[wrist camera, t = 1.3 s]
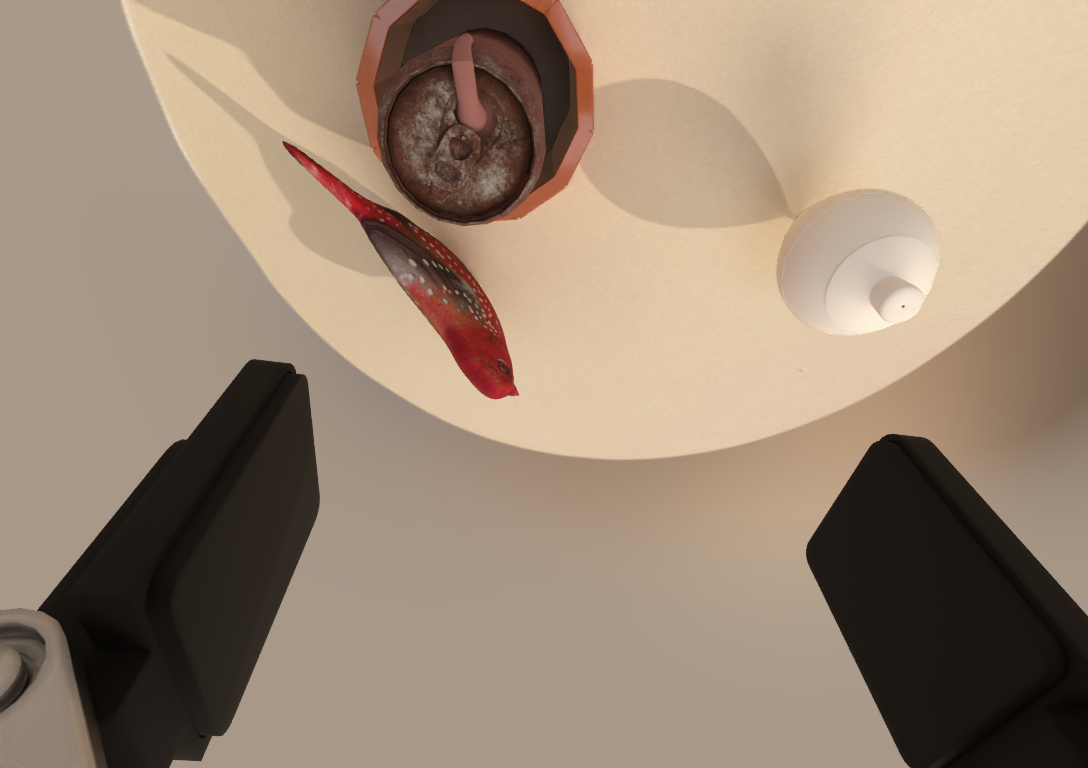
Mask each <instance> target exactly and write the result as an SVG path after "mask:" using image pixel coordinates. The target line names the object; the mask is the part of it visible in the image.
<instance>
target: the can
mask: <svg viewBox="0 0 1088 768" xmlns="http://www.w3.org/2000/svg"><path fill="white" fill-rule="evenodd" d="M377 140H378V144H379V149H380V153H381V157H382V161H383V165H384V167H385V169H386V170H387V172H388V174H389V176H390V177H391V179H392V181H393V183H394V185H395V186H396V188H397V190H398V191H399V192H400V193H401V194H402V195H403V196H404V197H405V198H406V199H407V200H408V201H409V202H410V203H411V204H412V205H413V206H414V207H415V208H417V209H419V210H420V211H422V212H424V213H426V214H428V215H429V216H431V217H433V218H435V219H437V220H438V221H443V222H447V223H452V224H456V225H461V226H469V225H480V224H488V223H490V222H493V221H495V220H497V219H500V218H502V217H504V216H507V215H509V214H510V213H511V212H512V211H514V210H515V209H516V208H517V207H518V206H519V205H520V204H521V203H522V202H524V201H525V200H526V199H527V198H528V196H529V195H530V193H531V191H532V189H533V188H534V186H535V184H536V182H537V181H538V179H539V177H540V175H541V170H542V166H543V161H544V157H545V152H546V142H545V129H544V116H543V103H542V91H541V79H540V76H539V73H538V71H537V68H536V65H535V63H534V60H533V59H532V57H531V56H530V55H529V54H528V52H527V51H526V50H525V48H524V47H523V46H522V44H520V43H519V42H518V41H516V40H515V39H513V38H512V37H510V36H509V35H508V34H506V33H504V32H500V31H496V30H493V29H489V28H481V29H471V30H467V31H465V32H463V33H461V34H459V35H457V36H455V37H453V38H451V39H450V40H448V41H446V42H444V43H442V44H440V45H438V46H436V47H434V48H432V49H430V50H428V51H426V52H424V53H422V54H420V55H418V56H416V57H414V58H412V59H411V60H409V61H407V62H406V63H405V64H404V66H403V67H402V68H401V69H400V70H399V71H398V72H397V74H396V75H395V76H394V77H393V78H392V79H391V80H390V81H389V83H388V86H387V88H386V91H385V93H384V96H383V98H382V101H381V103H380V106H379V108H378V125H377Z"/></svg>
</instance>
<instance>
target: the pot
mask: <svg viewBox="0 0 1088 768" xmlns="http://www.w3.org/2000/svg"><path fill="white" fill-rule="evenodd" d="M438 1H439V0H387V1H386V2H385V3H384V4H383V5H382V6H381V7H380V8H378V9H377V10H376V11H375V14H376V15H373V17H372V20H371V24H370V28H369V32H368V36H367V40H366V43H365V47H364V51H363V55H362V59H361V62H360V66H359V70H358V74H357V78H356V81H357V82H358V83H356V86H357V90H358V95H359V99H360V103H361V107H362V112H363V116H364V120H365V125H366V129H367V133H368V137H369V142H370V146H371V148H374V149H373V152H374V153H375V154H376V156H377V157H378V158H379V159H380V161H381V162H382V163H383V161H382V157H381V153H380V149H379V144H378V140H377V125H378V108H379V106H380V103H381V101H382V98H383V96H384V93H385V91H386V88H387V86H388V83H389V81H390V80H391V79H392V78H393V77H394V76H395V75H396V74H397V72H398V71H399V70H400V67H401V64H402V61H403V57H404V54H405V51H406V47H407V44H408V41H409V37H410V34H411V31H412V27H413V24H414V22H415V21H416V20H418V19H419V18H420V17H421V16H422V15H423V14H424V13H425V12H427V11H428V10H429V9H430V8H431V7H432V6H433V5H435V4H436V3H437V2H438ZM520 1H522V2H523V3H525V4H527V5H529V6H530V7H532V8H534V9H535V10H537V11H539V12H541V13H542V14H544V15H545V16H546V18H547V20H548V22H549V24H550V25H551V27H552V29H553V31H554V32H555V34H556V36H557V38H558V40H559V41H560V43H561V45H562V47H563V48H564V50H565V52H566V54H567V56H568V57H569V81H570V107H571V108H570V110H569V112H568V114H567V117H566V119H565V121H564V123H563V125H562V127H561V129H560V132H559V134H558V136H557V138H556V140H555V142H554V144H553V147H552V149H551V150H550V151H549V152H547V153H546V154H545V157H544V161H543V166H542V170H541V175H540V177H539V179H538V181H537V182H536V184H535V186H534V188H533V189H532V191H531V193H530V195H529V196H528V198H527V199H526V200H525V201H524V202H522V203H521V204H520V205H519V206H518V207H517V208H516V209H515V210H514V211H512V212H511V213H510V214H509V215H507V216H504V217H502V218H500V219H497V220H495V221H502V220H515V219H518V218H519V217H520V218H522V217H524V216H525V215H527V214H528V213H530V212H531V211H533V210H534V209H536V208H537V207H539V206H540V205H541V204H543V203H544V202H546V201H547V200H549V199H550V198H552V197H553V196H555V195H556V194H558V193H559V192H560V191H562V190H563V189H565V186H567V185H568V183H569V181H570V179H571V177H572V175H573V173H574V171H575V169H576V167H577V165H578V163H579V161H580V159H581V157H582V155H583V153H584V151H585V149H586V147H587V145H588V143H589V141H590V139H591V137H592V135H593V130H594V95H593V64H592V63H591V62H592V60H591V58H590V56H589V54H588V52H587V50H586V49H585V47H584V45H583V43H582V41H581V39H580V38H579V36H578V34H577V32H576V30H575V28H574V26H573V25H572V23H571V21H570V19H569V17H568V15H567V14H566V12H565V10H564V8H563V6H562V4H561V2H560V1H559V0H520Z"/></svg>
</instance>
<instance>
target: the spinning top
mask: <svg viewBox="0 0 1088 768" xmlns="http://www.w3.org/2000/svg"><path fill="white" fill-rule="evenodd" d="M939 261H940V241H939V237H938V233H937V230H936V227H935V225H934V223H933V221H932V220H931V218H930V217H929V215H928V214H927V213H926V212H925V211H924V210H923V209H922V208H921V207H920V206H919V205H918V204H917V203H915V202H914V201H912V200H911V199H909V198H907V197H905V196H903V195H900V194H897V193H894V192H890V191H886V190H880V189H858V190H852V191H847V192H843V193H840V194H837V195H834V196H831V197H829V198H826V199H824V200H822V201H819V202H817V203H816V204H814V205H812V206H811V207H809V208H808V209H806V210H805V211H804V212H803V213H801V214H800V215H799V216H798V217H797V218H796V220H795V221H794V222H793V223H792V225H791V226H790V227H789V229H788V231H787V232H786V234H785V236H784V239H783V242H782V244H781V247H780V251H779V255H778V260H777V269H776V276H777V284H778V288H779V292H780V294H781V297H782V299H783V301H784V302H785V304H786V306H787V308H788V309H789V310H790V312H791V313H792V314H793V315H794V316H795V317H796V318H797V319H799V320H800V321H801V322H803V323H804V324H806V325H807V326H809V327H811V328H813V329H815V330H818V331H821V332H824V333H828V334H834V335H859V334H865V333H869V332H873V331H877V330H881V329H884V328H887V327H889V326H891V325H894V324H896V323H900V322H903V321H906V320H908V319H910V318H911V317H913V316H914V315H915V314H916V313H917V312H918V311H919V309H920V308H921V306H922V304H923V300H924V299H925V297H926V296H927V294H928V293H929V291H930V289H931V287H932V284H933V282H934V279H935V276H936V273H937V270H938V266H939Z"/></svg>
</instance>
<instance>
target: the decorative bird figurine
mask: <svg viewBox="0 0 1088 768" xmlns="http://www.w3.org/2000/svg"><path fill="white" fill-rule="evenodd" d="M282 142H283V145H284V147H285V148H286V149H287V150H288V152H289V153H290V154H291V155H292V156H293V157H294V158H295V159H296V160H297V161H298V162H299V163H300V164H301V165H302V166H303V167H305V169H306V170H307V171H308V172H310V173H311V174H312V175H313V176H314V177H315V178H316V179H317V180H318V181H319V182H320V183H321V184H322V185H323V186H324V187H325V188H327V189H328V190H329V191H330V192H331V193H332V194H333V195H334V196H335V197H336V198H337V199H338V200H339V201H340V202H342V203H343V204H344V205H345V206H346V207H347V208H348V209H349V210H350V211H351V212H352V213H353V214H354V215H355V217H356V218H357V219H358V220H359V222H360V223H361V225H362V227H363V229H364V230H365V232H366V234H367V236H368V238H369V240H370V241H371V243H372V244H373V246H374V248H375V249H376V251H377V252H378V254H379V255H380V257H381V258H382V260H383V262H384V263H385V265H386V266H387V267H388V269H389V270H390V272H391V273H392V275H393V276H394V278H395V279H396V281H397V282H398V283H399V285H400V286H401V287H402V289H403V290H404V291H405V292H406V294H407V295H408V296H409V297H410V299H411V300H412V301H413V302H414V304H415V305H416V306H417V307H418V309H419V310H420V311H421V312H422V313H423V315H424V316H425V317H426V318H427V320H428V321H429V322H430V324H431V325H432V326H433V327H434V329H435V330H436V331H437V333H438V334H439V335H440V336H441V338H442V339H443V340H444V342H445V343H446V345H447V346H448V348H449V350H450V351H451V353H452V355H453V357H454V359H455V360H456V362H457V364H458V366H459V367H460V369H461V370H462V372H463V373H464V374H465V376H466V377H467V378H468V379H469V380H470V382H471V383H472V384H473V385H474V386H475V387H476V388H477V389H478V390H479V391H480V392H481V393H482V394H484V395H485V396H487V397H489V398H491V399H501V398H503V397H506V396H507V395H510V396H518V395H519V393H518V391H517V389H516V387H515V385H514V376H513V369H512V362H511V359H510V356H509V353H508V349H507V345H506V341H505V336H504V333H503V329H502V326H501V324H500V321H499V319H498V317H497V314H496V312H495V310H494V308H493V306H492V304H491V303H490V301H489V299H488V298H487V296H486V294H485V293H484V291H483V290H482V288H481V287H480V285H479V284H478V282H477V281H476V280H475V278H474V277H473V276H472V274H471V273H470V272H469V271H468V270H467V268H466V267H465V266H464V265H463V263H462V262H461V261H460V260H459V259H458V258H457V257H456V256H455V255H454V254H453V253H452V252H451V251H450V250H449V249H448V248H447V247H446V246H444V245H443V244H442V243H441V242H440V241H438V240H437V239H436V238H434V237H433V236H431V235H430V234H429V233H428V232H425V231H424V230H422V229H421V228H420V227H418V226H417V225H415V224H414V223H413V222H411V221H410V220H409V219H407V218H406V217H405V216H403V215H402V214H400V213H398V212H396V211H393V210H391V209H389V208H386V207H383V206H381V205H379V204H376V203H373V202H372V201H370V200H368V199H366V198H364V197H363V196H361V195H360V194H358V193H356V192H355V191H353V190H352V189H351V188H349V187H348V186H347V185H346V184H344V183H343V182H341V181H340V180H339V179H338V178H336V177H335V176H334V175H332V174H331V173H330V172H329V171H327V170H326V169H324V168H323V167H322V166H321V165H319V164H318V163H316V162H315V161H314V160H313V159H311V158H310V157H308V156H307V155H306V154H305V153H303V152H302V151H300V150H299V149H297V148H296V147H295V146H293V145H290V144H289V143H287V142H284V141H282Z"/></svg>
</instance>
